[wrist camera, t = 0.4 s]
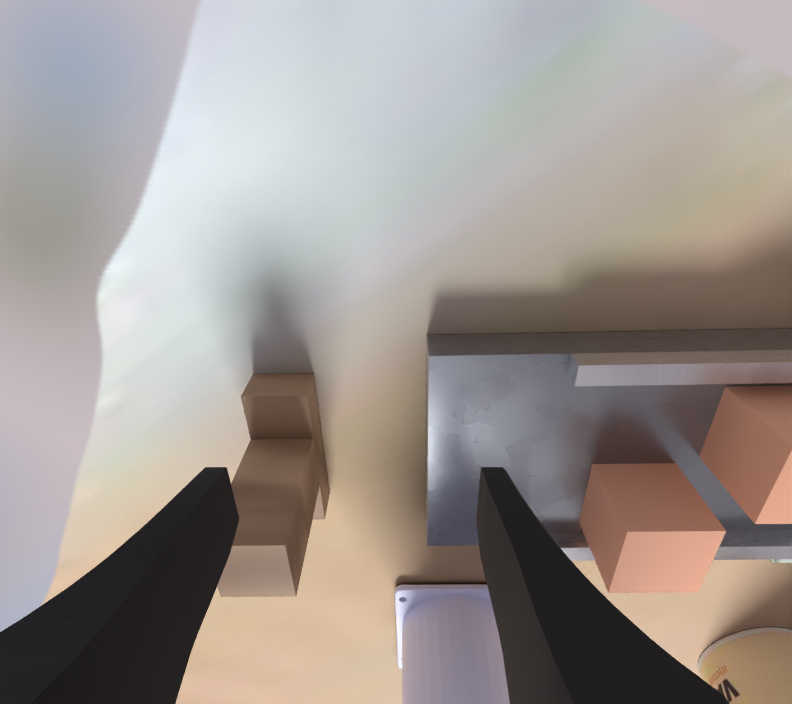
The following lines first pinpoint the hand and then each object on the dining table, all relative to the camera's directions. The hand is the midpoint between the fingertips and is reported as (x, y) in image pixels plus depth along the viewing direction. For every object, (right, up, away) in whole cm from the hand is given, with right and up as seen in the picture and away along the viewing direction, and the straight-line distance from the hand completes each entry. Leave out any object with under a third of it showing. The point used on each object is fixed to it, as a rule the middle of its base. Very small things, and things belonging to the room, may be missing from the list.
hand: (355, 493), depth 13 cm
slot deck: (+13, 0, +11) cm, 17 cm away
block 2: (+18, +1, +8) cm, 19 cm away
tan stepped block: (-4, 0, +11) cm, 12 cm away
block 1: (+13, -3, +10) cm, 17 cm away
